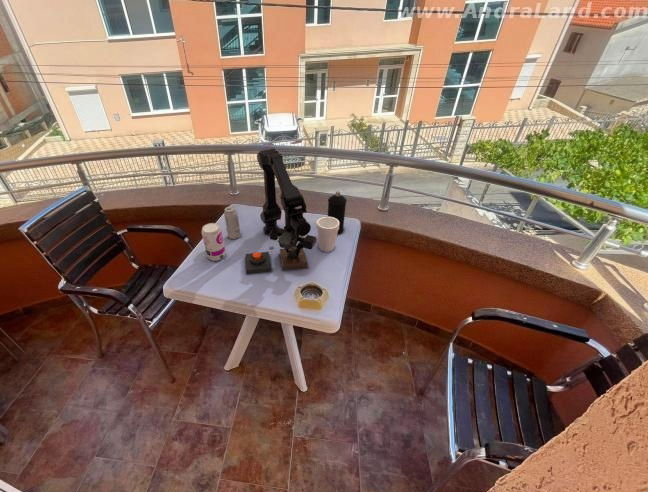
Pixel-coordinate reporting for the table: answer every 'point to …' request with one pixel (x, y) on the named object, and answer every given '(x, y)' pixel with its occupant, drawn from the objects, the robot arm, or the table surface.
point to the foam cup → (327, 232)
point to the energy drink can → (232, 222)
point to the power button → (257, 256)
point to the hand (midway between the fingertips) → (293, 254)
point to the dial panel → (293, 260)
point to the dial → (292, 252)
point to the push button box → (258, 263)
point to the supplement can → (213, 241)
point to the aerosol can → (337, 209)
